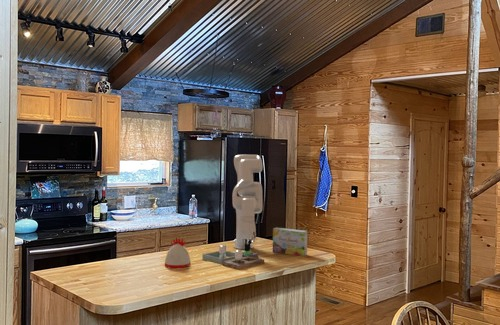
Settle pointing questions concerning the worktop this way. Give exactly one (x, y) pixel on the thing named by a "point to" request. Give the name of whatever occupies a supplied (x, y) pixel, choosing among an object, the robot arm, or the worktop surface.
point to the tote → (215, 257)
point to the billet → (222, 251)
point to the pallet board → (243, 262)
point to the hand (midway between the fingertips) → (247, 250)
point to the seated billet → (238, 256)
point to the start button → (247, 252)
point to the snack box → (290, 241)
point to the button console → (250, 255)
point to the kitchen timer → (177, 255)
